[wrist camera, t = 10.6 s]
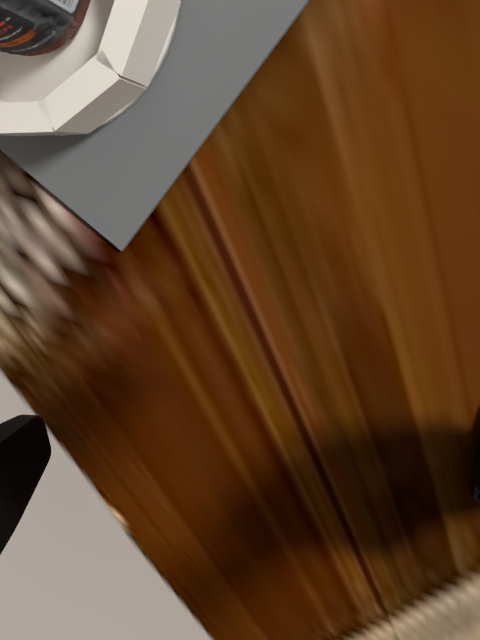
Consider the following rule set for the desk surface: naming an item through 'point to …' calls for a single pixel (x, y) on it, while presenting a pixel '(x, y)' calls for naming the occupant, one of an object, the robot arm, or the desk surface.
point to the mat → (159, 117)
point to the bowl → (88, 70)
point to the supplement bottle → (39, 24)
